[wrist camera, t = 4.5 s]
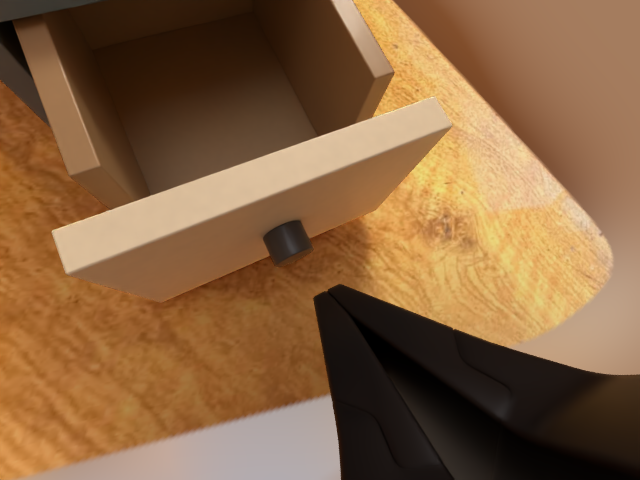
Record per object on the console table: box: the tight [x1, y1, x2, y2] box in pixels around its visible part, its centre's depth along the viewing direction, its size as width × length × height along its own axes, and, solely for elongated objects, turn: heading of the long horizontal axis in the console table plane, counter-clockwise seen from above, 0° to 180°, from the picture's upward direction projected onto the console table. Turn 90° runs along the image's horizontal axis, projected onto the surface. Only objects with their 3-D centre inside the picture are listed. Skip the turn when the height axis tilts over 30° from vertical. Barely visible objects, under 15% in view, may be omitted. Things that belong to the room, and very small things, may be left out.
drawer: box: [12, 0, 452, 303], centre depth 14 cm, size 15×11×8 cm
